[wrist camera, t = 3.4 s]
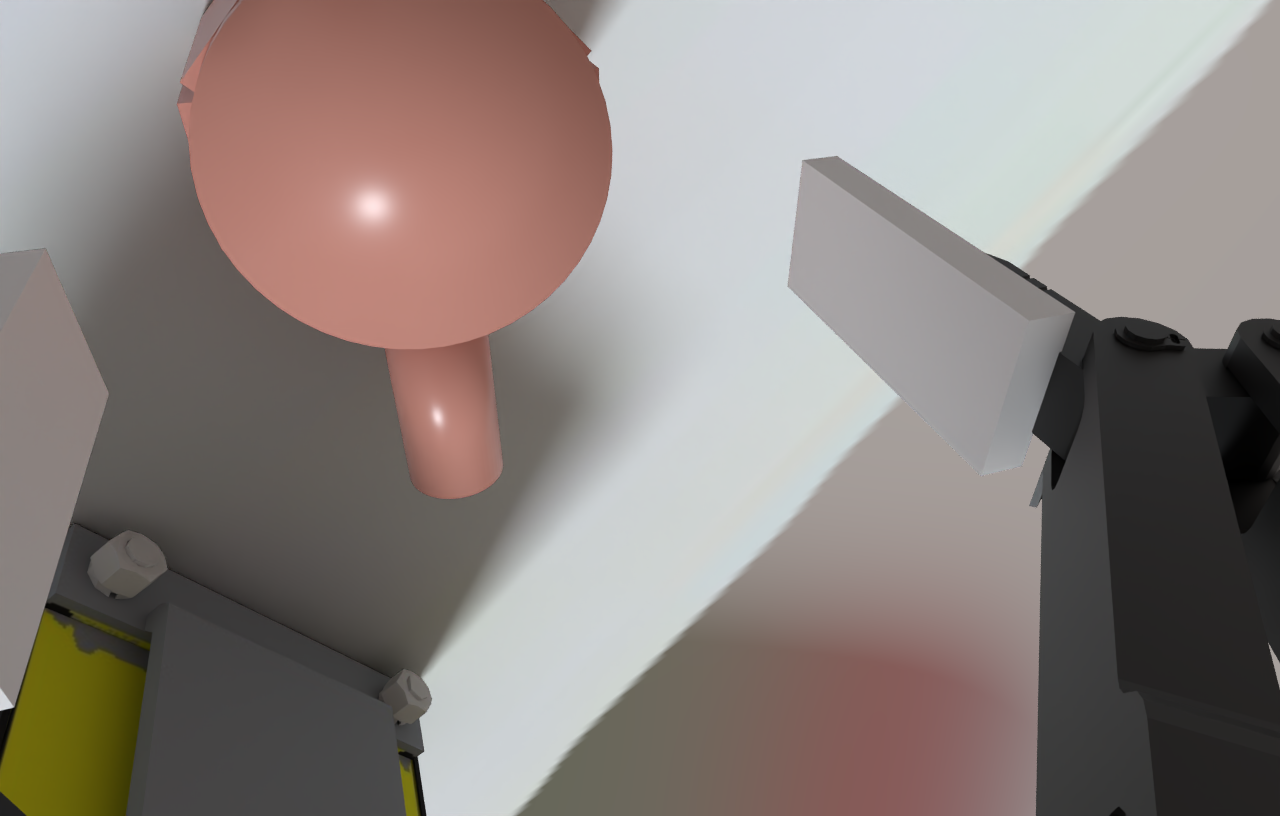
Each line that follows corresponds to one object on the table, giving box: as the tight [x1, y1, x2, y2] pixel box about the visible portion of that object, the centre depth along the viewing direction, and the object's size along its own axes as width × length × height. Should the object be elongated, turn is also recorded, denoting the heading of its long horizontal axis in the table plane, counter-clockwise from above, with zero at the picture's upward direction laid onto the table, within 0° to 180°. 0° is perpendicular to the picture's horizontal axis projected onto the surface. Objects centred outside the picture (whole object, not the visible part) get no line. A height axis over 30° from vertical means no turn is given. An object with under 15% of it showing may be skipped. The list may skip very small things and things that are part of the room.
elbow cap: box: [177, 0, 612, 499], centre depth 24 cm, size 16×9×8 cm, turn 1°
